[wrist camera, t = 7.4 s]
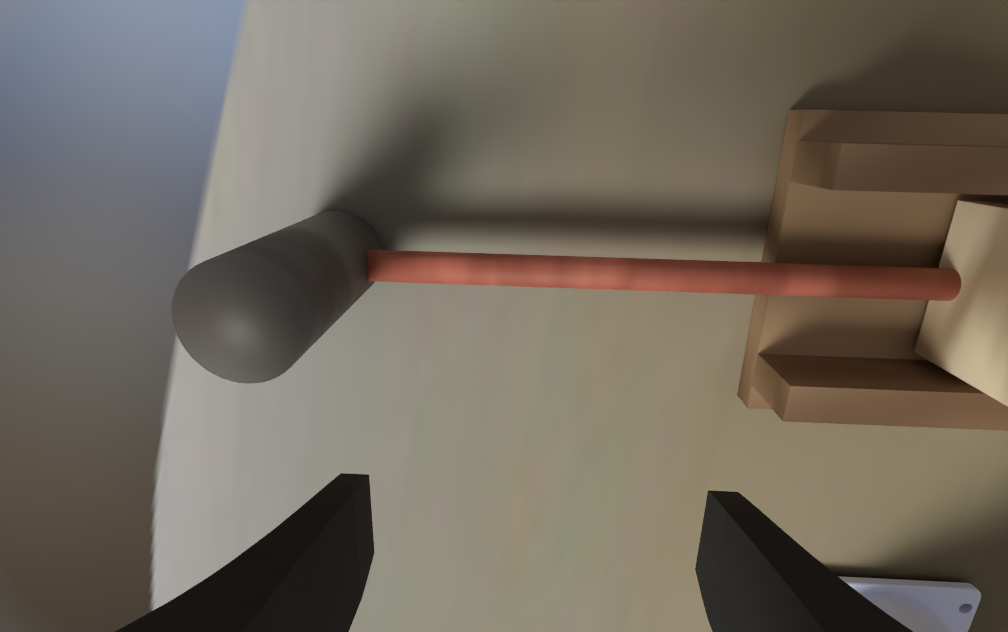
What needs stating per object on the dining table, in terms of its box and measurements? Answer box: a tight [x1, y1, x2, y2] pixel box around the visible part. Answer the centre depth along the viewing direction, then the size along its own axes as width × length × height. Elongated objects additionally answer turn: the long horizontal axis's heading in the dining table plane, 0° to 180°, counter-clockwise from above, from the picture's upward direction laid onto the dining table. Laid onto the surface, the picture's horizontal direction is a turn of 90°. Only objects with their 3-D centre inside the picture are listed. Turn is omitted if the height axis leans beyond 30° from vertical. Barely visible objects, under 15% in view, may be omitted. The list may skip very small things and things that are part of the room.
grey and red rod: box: [172, 200, 1008, 406], centre depth 15 cm, size 5×27×7 cm, turn 89°
